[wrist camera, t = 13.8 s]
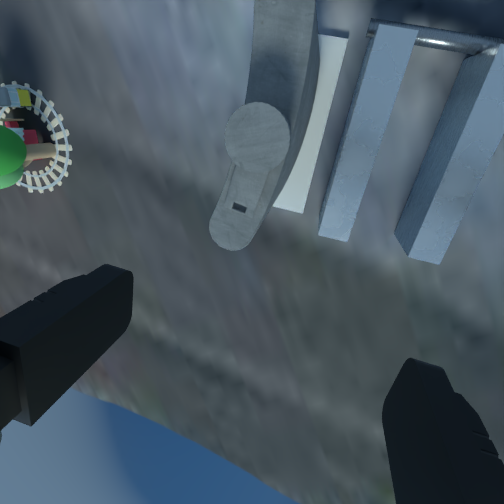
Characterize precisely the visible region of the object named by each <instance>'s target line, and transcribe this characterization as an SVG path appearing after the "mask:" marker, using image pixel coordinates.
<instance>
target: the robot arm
mask: <svg viewBox="0 0 504 504" xmlns="http://www.w3.org/2000/svg"><path fill="white" fill-rule="evenodd" d="M132 301H133V274H132V272H131V271H128V270H125V269H122V268H119V267H115V266H112V265H109V264H104V265H102V266H100V267H99V268H97V269H95V270H94V271H92V272H91V273H89V274H87V275H81V276H77V277H74V278H71V279H67V280H64V281H62V282H61V283H59V284H57V285H56V286H54V287H52V288H50V289H49V290H48V291H47V293H46V292H44V293H42V294H40V295H38V296H37V297H35V298H34V300H33V301H31V300H30V301H28V302H27V303H25V304H23V305H21V306H20V307H18V308H16V309H15V310H13V311H11V312H10V313H8V314H6V315H4V316H3V317H1V318H0V442H1V437H2V432H1V430H2V429H3V428H4V427H5V426H6V425H7V424H8V423H9V422H10V421H11V420H12V419H14V420H16V421H19V422H21V423H24V424H26V425H29V426H32V425H33V424H34V423H35V422H36V421H37V420H38V419H39V418H40V417H41V416H42V415H43V414H44V413H45V412H46V411H47V410H48V409H49V408H50V407H51V406H52V405H53V404H54V403H55V402H56V401H57V400H58V399H59V398H60V397H61V396H62V395H63V394H64V393H65V392H66V391H67V390H68V389H69V388H70V387H71V386H72V385H73V384H74V383H75V382H76V381H77V380H78V379H79V378H80V377H81V376H82V375H83V374H84V373H85V372H86V371H87V370H88V369H89V368H90V367H91V366H92V365H93V364H94V363H95V362H96V361H97V360H98V359H99V358H100V357H101V356H102V355H103V354H104V353H105V352H106V350H107V349H108V348H109V347H110V346H111V345H112V344H113V343H114V342H115V341H116V340H117V339H118V338H119V337H120V336H121V335H122V334H123V333H124V332H125V331H126V329H127V327H128V325H129V323H130V320H131V316H132ZM382 423H383V429H384V435H385V441H386V446H387V452H388V458H389V464H390V470H391V476H392V482H393V488H394V493H395V499H396V504H504V464H503V462H502V460H501V459H498V455H499V454H498V452H497V450H496V448H495V446H494V444H493V442H492V440H489V435H488V433H487V431H486V429H485V427H484V425H483V423H482V421H481V419H480V417H479V415H478V414H477V412H476V411H475V410H474V409H473V408H472V407H471V405H470V404H469V403H468V402H467V401H466V400H465V399H464V397H463V396H462V395H461V394H458V393H455V392H454V390H453V388H452V386H451V384H450V382H449V379H448V377H447V375H446V373H445V371H444V369H443V368H441V367H439V366H436V365H432V364H429V363H426V362H423V361H419V360H416V359H413V358H409V359H407V360H406V361H405V363H404V364H403V366H402V368H401V370H400V372H399V374H398V376H397V378H396V379H395V381H394V383H393V385H392V387H391V389H390V391H389V393H388V395H387V396H386V399H385V401H384V405H383V411H382Z"/></svg>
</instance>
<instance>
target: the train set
mask: <svg viewBox="0 0 504 504" xmlns="http://www.w3.org/2000/svg"><path fill="white" fill-rule="evenodd" d="M18 88H21V89H18ZM30 92H31V93H33V94H34V95H36V102H35V106H34V105H33V104H31V98H30ZM41 99H42V100H43V102H44V103H45V104H46V105H47V106H46V108H45V110H44V113H43V112H42V111H41V110H40V105H41ZM53 106H54V103H53V102H52V101H51V100H50V101H49V102H48V101H47V100H46V99H45V98H44V97H43V96H42V91H40V90H38V91H37V92H36V91H34V90H32V89H31V88H30V86H29V84H27V83H25V86H22V85H19V84H17V82H16V81H12V85H5V84H4V83H2V84H1V87H0V107H3V109H2V110H0V189H2V188H6V187H9V186H11V185H13V184H15V183H16V184H17V185H18V186H20V184H21V185H22V186H25V187H28V191H29V192H32V193H33V189H38V190H39V192H40V193H43V190H44V189H47V188H49V190H50V191H53V190H54V189H53V186H54V185H55V184H58V185H59V186H61V184H62V182H61V181H60V180H61V179H62V177H63V176H66V177H67V176H68V172H67V171H66V169H67V166H68V164H69V165H71V164H72V160H70V159H69V151H72V146H71V145H69V144H68V139H67V136H68V135H69V131H68V129H66V130H65V129H64V126H63V124H62V120H63V117H62V115H61V114H59V115H58V114H57V113H56V111H55V110H54V108H53ZM9 107H12V108H13V109H15V108H16V107H18V108H23V107H26V108H27V110H31V108H32V107H33V108H34V113H35V114H36V115H39V112H40V113H41V114H42V117H41V120H42V121H43V122H44V123H45V122H46V121H47V122H48V125H47V129H48V130H49V131H51V130H52V132H53V134H52V135H50V136H51V139H52V140H53V141H54V140H55V142H56V144H52V143H40V144H39V142H38V138H37V134H36V130H24V128H19V124H18V123H17V121H24V119H5V114H4V113H3V112H4V111H6V112H7V113H9V111H10V109H9ZM51 110H52V112H53V114H54V115H55V117H56V118H55V119H53V120H52V121H51V122H50V121H49V120H48V116H49V114H50V112H51ZM1 117H2V118H3V119H1ZM2 121H7V122H5V125H6V127H5V126H3V122H2ZM58 124H60V127H61V129H62V131H60V132H57V133H55V131H54V127H55V126H57V125H58ZM63 137H64V139H65V144H66V145H64V144H58V141H57V139H60V138H63ZM58 150H64V151H66V158H65V157H63V156H60V155H58ZM49 157H52V158H54V159H55V161H54V162H53V161H51V160H50V163H49V164H50V166H52V167H51V169H50V168H49V167H48V166H46V168H45V170H46V171H47V172H46V173H44V172H43V170H40V171H39V173H40V175H38V174H37V172H36V171H33V175H32V174H30V171H26V172H24V168H25V167H26V166H28V165H29V164H30V163H31V162H32V161H33V160H40V159H42V158H49ZM57 160H58V161H61V162H64V163H65V165H64V169H63V168H61V167H60V166H58V165H57V164H56V163H57ZM53 168H54V169H56V170H57V171H59V172H60V173H61V174H60V176H59V178H58V177H57V176H56V175H55V174H54V173H53V172H52V170H53ZM23 173H24V174H25V175H26V178H27V184H25V183H23V182H21V180H22V176H23ZM47 174H49V175H50V176H51V177H52V178H53V179H54V180H55V181H54V182H53V183H52V184H50V182H49V180H48V178H47V177H46V175H47ZM31 177H34V179H35V181H36V184H37V187H35V186H32V182H31ZM39 177H42V178H43V180H44V182H45V183H46V185H47V186H44V187H42V186H41V183H40V180H39Z"/></svg>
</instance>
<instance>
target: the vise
mask: <svg viewBox="0 0 504 504" xmlns="http://www.w3.org/2000/svg"><path fill="white" fill-rule="evenodd" d="M366 37H369V38H371V40H370V41H369V43H368V46H367V50H366V53H365V57H364V60H363V64H362V67H361V71H360V74H359V78H358V81H357V85H356V88H355V92H354V95H353V99H352V102H351V106H350V109H349V113H348V116H347V120H346V123H345V127H344V130H343V134H342V137H341V141H340V144H339V148H338V151H337V155H336V158H335V162H334V165H333V169H332V172H331V176H330V179H329V183H328V186H327V190H326V193H325V197H324V200H323V204H322V207H321V211H320V214H319V225H318V235H320V236H324V237H328V238H333V239H337V240H341V241H345V242H347V241H348V238H349V235H350V232H351V229H352V226H353V224H354V221H355V218H356V215H357V212H358V209H359V206H360V203H361V200H362V197H363V194H364V191H365V188H366V185H367V182H368V179H369V176H370V173H371V170H372V167H373V164H374V161H375V158H376V155H377V152H378V149H379V147H380V144H381V141H382V138H383V135H384V132H385V129H386V126H387V123H388V120H389V117H390V114H391V111H392V108H393V105H394V102H395V99H396V96H397V93H398V90H399V87H400V84H401V81H402V78H403V75H404V72H405V70H406V67H407V64H408V61H409V58H410V55H411V52H412V49H413V46H414V45H417V46H423V47H429V48H435V49H441V50H447V51H454V52H460V53H466V54H472V55H474V56H471V57H469V58H467V59H465V60H463V63H462V65H461V68H460V70H459V73H458V75H457V78H456V80H455V83H454V85H453V88H452V90H451V93H450V95H449V98H448V100H447V103H446V105H445V108H444V110H443V113H442V115H441V118H440V120H439V123H438V125H437V128H436V130H435V133H434V135H433V138H432V140H431V143H430V145H429V148H428V150H427V153H426V155H425V158H424V160H423V163H422V165H421V168H420V170H419V173H418V175H417V178H416V180H415V183H414V185H413V188H412V190H411V192H410V195H409V197H408V200H407V202H406V205H405V207H404V210H403V212H402V215H401V217H400V220H399V222H398V225H397V227H396V230H395V232H394V235H395V236H396V238H397V240H398V241H399V243H400V245H401V246H402V248H403V250H404V251H405V253H406V255H407V256H408V257H410V258H414V259H418V260H422V261H426V262H430V263H434V264H438V265H440V263H441V261H442V258H443V256H444V254H445V252H446V250H447V248H448V246H449V244H450V242H451V240H452V238H453V236H454V234H455V232H456V230H457V228H458V226H459V224H460V222H461V220H462V218H463V216H464V214H465V211H466V209H467V207H468V205H469V203H470V201H471V199H472V197H473V195H474V193H475V191H476V189H477V187H478V185H479V183H480V181H481V179H482V177H483V175H484V173H485V171H486V169H487V167H488V164H489V162H490V160H491V158H492V156H493V154H494V152H495V150H496V148H497V146H498V144H499V142H500V140H501V138H502V136H503V134H504V39H500V38H494V37H488V36H482V35H475V34H469V33H463V32H456V31H450V30H444V29H437V28H431V27H425V26H418V25H412V24H406V23H399V22H393V21H387V20H380V19H374V18H371V20H370V24H369V27H368V30H367V34H366Z"/></svg>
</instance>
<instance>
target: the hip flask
mask: <svg viewBox="0 0 504 504" xmlns="http://www.w3.org/2000/svg"><path fill="white" fill-rule="evenodd" d="M319 68H320V51H319V39H318V26H317V14H316V2H315V0H255V4H254V25H253V42H252V54H251V64H250V73H249V80H248V87H247V94H246V99H245V105H243V106H241V107H240V108H239V109H237V110H236V111H235V113H233V114H232V116H231V118H230V119H229V120H228V124H227V125H226V130H225V133H224V134H225V139H224V141H225V147H226V149H227V153H228V154H229V156H230V158H231V160H232V163H231V166H230V169H229V172H228V176H227V179H226V182H225V185H224V188H223V190H222V193H221V196H220V198H219V201H218V203H217V206H216V208H215V210H214V212H213V214H212V217H211V219H210V223H209V230H210V234H211V236H212V238H213V240H214V241H215V242H216V243H217V244H218V245H219V246H221V247H222V248H225V249H228V250H239V249H242V248H244V247H246V246H247V245H248V244H249V243H250V241H251V240H252V238H253V237H254V235H255V233H256V232H257V230H258V228H259V227H260V225H261V224H262V222H263V220H264V219H265V217H266V215H267V214H268V212H269V211H270V209H271V207H272V206H273V204H274V202H275V201H276V199H277V198H278V196H279V194H280V193H281V191H282V189H283V188H284V186H285V184H286V182H287V180H288V178H289V176H290V174H291V172H292V169H293V167H294V165H295V162H296V160H297V157H298V155H299V152H300V149H301V147H302V144H303V141H304V137H305V134H306V131H307V128H308V124H309V121H310V117H311V113H312V109H313V104H314V100H315V94H316V89H317V83H318V76H319Z"/></svg>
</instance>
